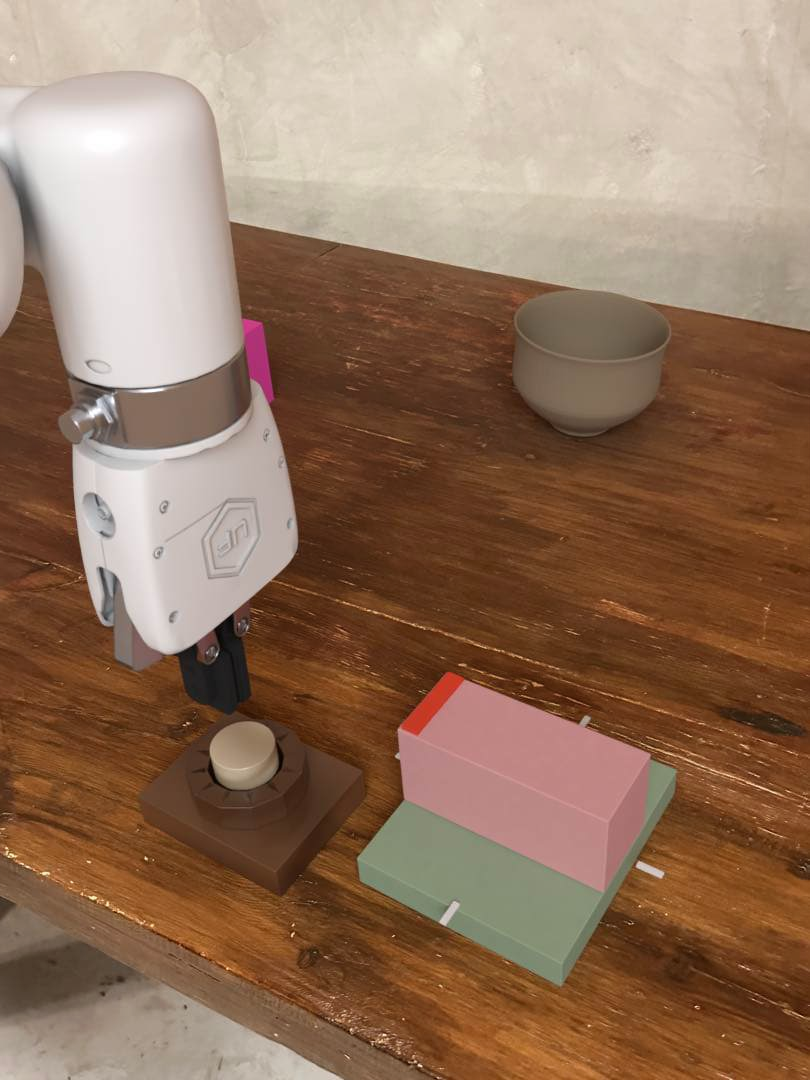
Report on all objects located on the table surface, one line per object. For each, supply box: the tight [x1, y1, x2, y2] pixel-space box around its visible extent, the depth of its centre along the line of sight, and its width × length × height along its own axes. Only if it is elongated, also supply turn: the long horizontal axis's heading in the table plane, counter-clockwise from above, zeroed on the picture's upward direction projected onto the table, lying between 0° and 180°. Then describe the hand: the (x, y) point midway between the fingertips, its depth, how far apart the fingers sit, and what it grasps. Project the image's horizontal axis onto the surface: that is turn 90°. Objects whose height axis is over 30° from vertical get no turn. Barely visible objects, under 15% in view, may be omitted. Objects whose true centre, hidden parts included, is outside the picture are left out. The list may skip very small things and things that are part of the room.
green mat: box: [356, 714, 678, 988], centre depth 61 cm, size 16×16×2 cm
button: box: [210, 721, 279, 791], centre depth 62 cm, size 4×4×2 cm
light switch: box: [136, 710, 367, 898], centre depth 63 cm, size 8×10×4 cm
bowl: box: [511, 289, 673, 438], centre depth 93 cm, size 13×13×10 cm
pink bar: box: [397, 671, 652, 893], centre depth 59 cm, size 12×5×6 cm, turn 57°
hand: (219, 696), depth 59 cm, fingers closed
